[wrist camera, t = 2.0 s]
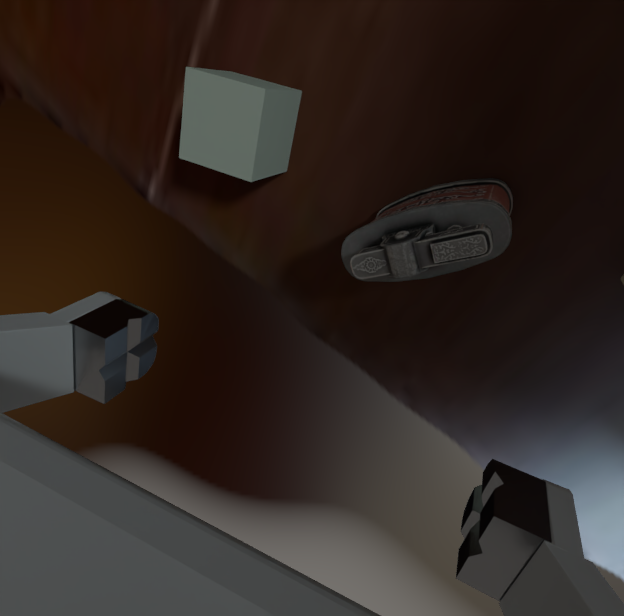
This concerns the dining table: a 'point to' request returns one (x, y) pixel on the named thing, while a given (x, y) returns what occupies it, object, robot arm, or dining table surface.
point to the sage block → (237, 123)
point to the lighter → (432, 232)
